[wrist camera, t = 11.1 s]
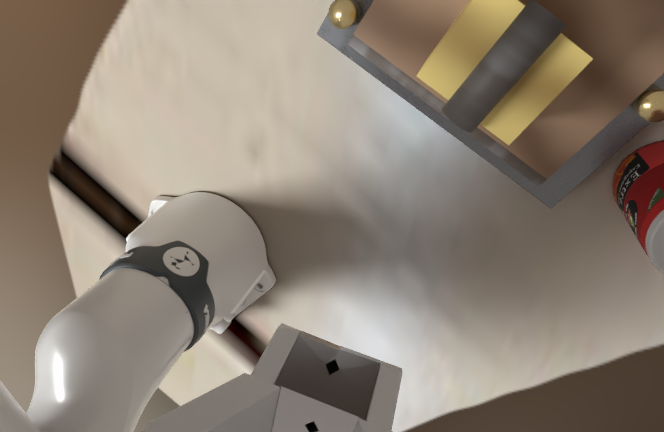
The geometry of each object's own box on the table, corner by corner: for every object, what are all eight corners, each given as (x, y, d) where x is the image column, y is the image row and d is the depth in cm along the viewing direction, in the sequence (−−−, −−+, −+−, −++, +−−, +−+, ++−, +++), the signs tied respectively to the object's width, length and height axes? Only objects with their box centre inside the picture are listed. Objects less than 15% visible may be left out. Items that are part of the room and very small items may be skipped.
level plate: (535, 180, 39) (548, 236, 31) (350, 43, 38) (315, 63, 30) (758, -26, 28) (867, -23, 20) (513, -223, 27) (525, -302, 19)
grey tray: (546, 194, 42) (553, 218, 38) (326, 30, 41) (309, 36, 37) (794, -27, 30) (844, -27, 26) (495, -269, 29) (498, -309, 25)
